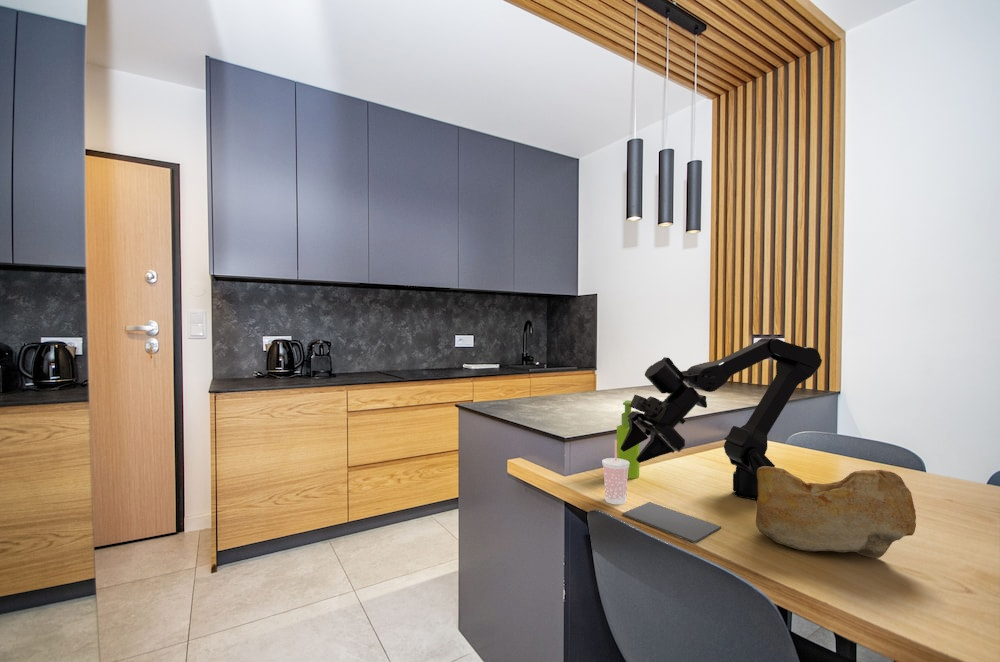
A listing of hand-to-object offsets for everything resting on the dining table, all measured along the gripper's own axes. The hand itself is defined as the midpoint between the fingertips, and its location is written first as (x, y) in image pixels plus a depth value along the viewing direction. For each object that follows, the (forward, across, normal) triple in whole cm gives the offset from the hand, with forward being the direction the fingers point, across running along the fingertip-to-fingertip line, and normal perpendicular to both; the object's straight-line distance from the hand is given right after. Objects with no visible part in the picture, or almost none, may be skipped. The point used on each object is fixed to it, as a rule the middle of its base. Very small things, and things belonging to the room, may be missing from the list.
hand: (629, 455), depth 102 cm
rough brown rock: (-13, +23, +27) cm, 38 cm away
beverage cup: (+10, 0, +5) cm, 11 cm away
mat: (+4, +12, +10) cm, 16 cm away
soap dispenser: (+2, -17, +12) cm, 22 cm away
